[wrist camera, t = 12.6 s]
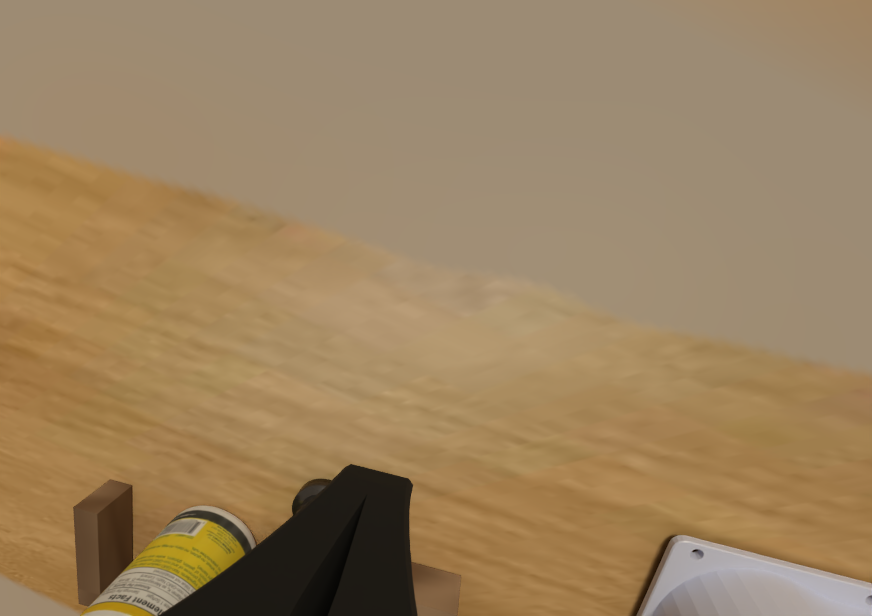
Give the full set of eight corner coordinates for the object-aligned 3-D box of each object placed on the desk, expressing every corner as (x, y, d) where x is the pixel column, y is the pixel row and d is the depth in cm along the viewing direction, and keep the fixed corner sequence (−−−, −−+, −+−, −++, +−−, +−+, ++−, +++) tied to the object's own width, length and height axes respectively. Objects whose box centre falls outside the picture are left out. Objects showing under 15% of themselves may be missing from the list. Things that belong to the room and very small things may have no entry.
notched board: (460, 575, 21) (457, 615, 19) (436, 664, 22) (430, 708, 21) (109, 479, 22) (73, 507, 20) (112, 570, 24) (78, 603, 22)
